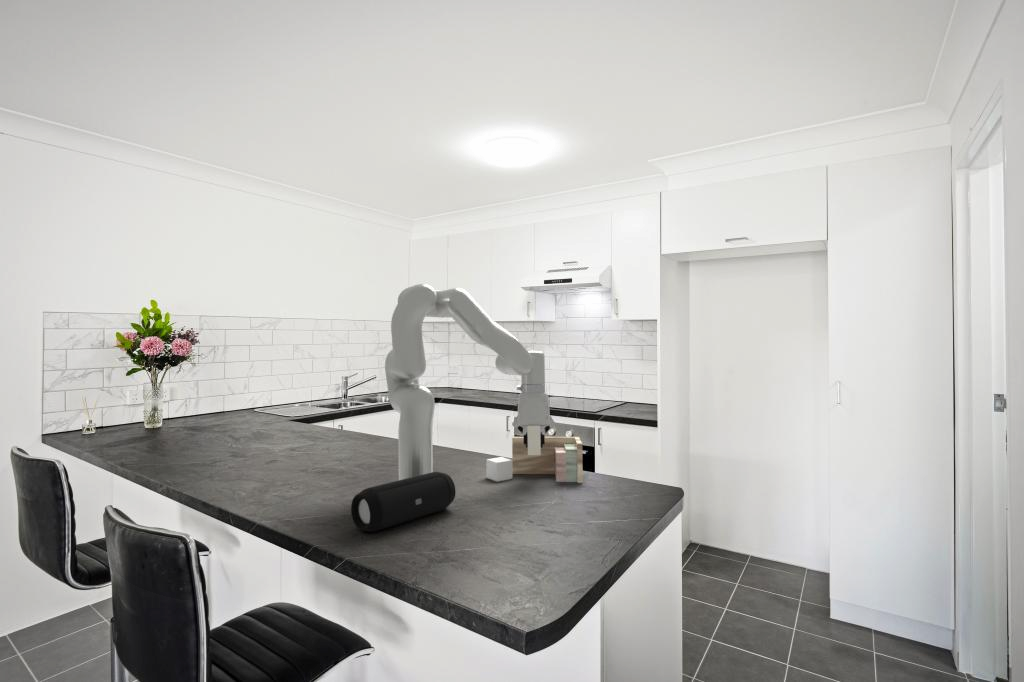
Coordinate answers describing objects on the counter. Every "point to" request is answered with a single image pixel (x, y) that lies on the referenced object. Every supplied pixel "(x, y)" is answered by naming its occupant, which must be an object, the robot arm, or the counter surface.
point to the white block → (534, 440)
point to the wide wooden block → (550, 458)
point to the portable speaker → (402, 501)
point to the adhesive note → (499, 469)
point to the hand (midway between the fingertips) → (534, 446)
